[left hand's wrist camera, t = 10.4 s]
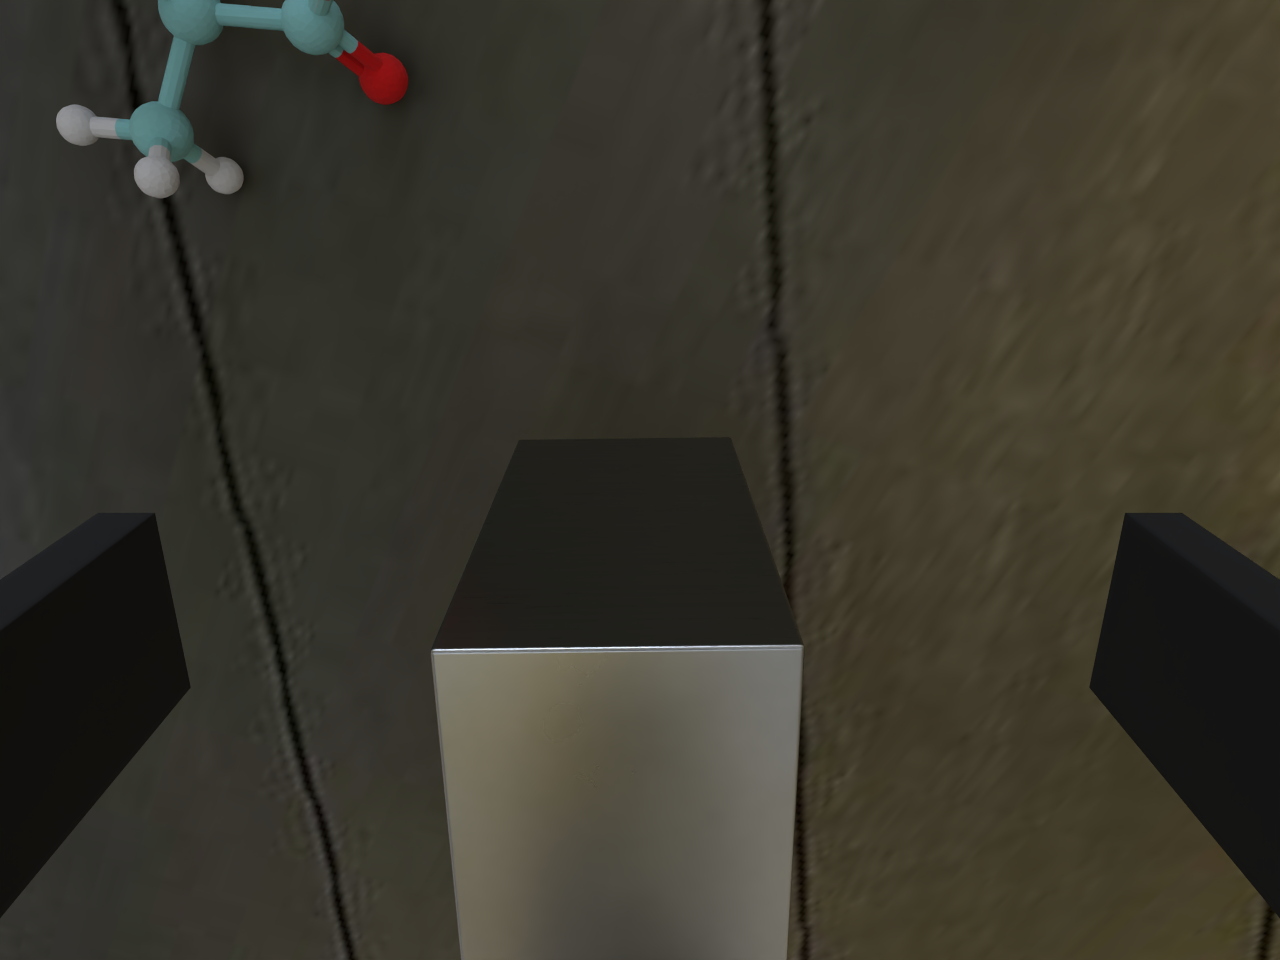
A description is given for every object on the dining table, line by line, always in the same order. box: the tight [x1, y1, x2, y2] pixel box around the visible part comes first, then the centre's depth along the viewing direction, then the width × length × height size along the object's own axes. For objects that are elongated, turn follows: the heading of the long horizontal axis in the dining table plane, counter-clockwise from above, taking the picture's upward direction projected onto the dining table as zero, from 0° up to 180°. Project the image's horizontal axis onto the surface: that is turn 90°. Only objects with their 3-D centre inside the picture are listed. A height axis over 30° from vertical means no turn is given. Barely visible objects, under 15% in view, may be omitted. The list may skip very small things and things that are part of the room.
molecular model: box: [56, 0, 408, 198], centre depth 27 cm, size 12×10×10 cm
